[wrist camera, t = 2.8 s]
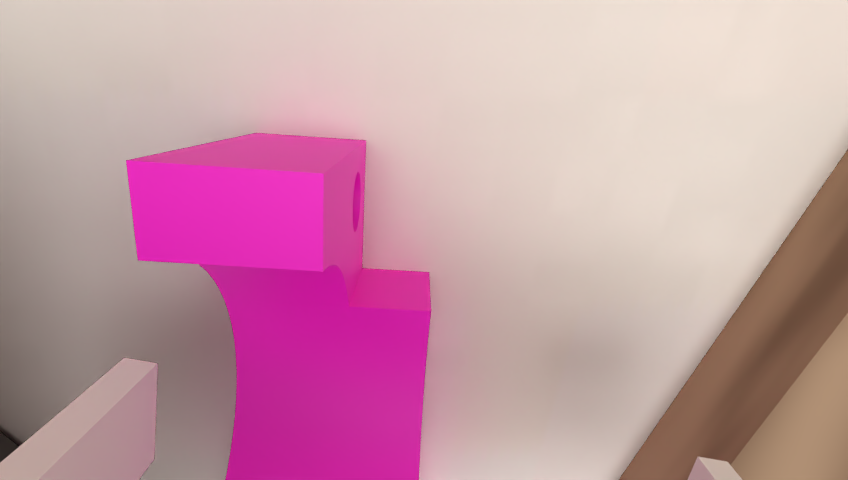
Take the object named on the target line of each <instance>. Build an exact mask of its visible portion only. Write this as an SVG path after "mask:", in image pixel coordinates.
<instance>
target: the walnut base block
mask: <svg viewBox="0 0 848 480" xmlns="http://www.w3.org/2000/svg"><path fill="white" fill-rule="evenodd" d="M697 457H704V458H709V459H715V460H721V461H727V462H728V463H729V464H730V465H731V466H732V468H733V469H734V470H735V471H736V473H737V474H738V475H739V476H740V477H741V479H742V480H848V150H847V151H846V153H845V154H844V156H843V157H842V159H841V160H840V162H839V163H838V164H837V166H836V167H835V169H834V170H833V172H832V173H831V175H830V176H829V177H828V179H827V180H826V182H825V183H824V185H823V186H822V188H821V189H820V190H819V192H818V193H817V195H816V196H815V198H814V199H813V200H812V202H811V203H810V205H809V206H808V208H807V209H806V211H805V212H804V213H803V215H802V216H801V218H800V219H799V221H798V222H797V224H796V225H795V226H794V228H793V229H792V231H791V232H790V234H789V235H788V237H787V238H786V239H785V241H784V242H783V244H782V245H781V247H780V248H779V250H778V251H777V252H776V254H775V255H774V257H773V258H772V260H771V261H770V262H769V264H768V265H767V267H766V268H765V270H764V271H763V273H762V274H761V275H760V277H759V278H758V280H757V281H756V283H755V284H754V286H753V287H752V288H751V290H750V291H749V293H748V294H747V296H746V297H745V299H744V300H743V301H742V303H741V304H740V306H739V307H738V309H737V310H736V312H735V313H734V314H733V316H732V317H731V319H730V320H729V322H728V323H727V325H726V326H725V327H724V329H723V330H722V332H721V333H720V335H719V336H718V337H717V339H716V340H715V342H714V343H713V345H712V346H711V348H710V349H709V350H708V352H707V353H706V355H705V356H704V358H703V359H702V361H701V362H700V363H699V365H698V366H697V368H696V369H695V371H694V372H693V374H692V375H691V376H690V378H689V379H688V381H687V382H686V384H685V385H684V387H683V388H682V389H681V391H680V392H679V394H678V395H677V397H676V398H675V399H674V401H673V402H672V404H671V405H670V407H669V408H668V410H667V411H666V412H665V414H664V415H663V417H662V418H661V420H660V421H659V423H658V424H657V425H656V427H655V428H654V430H653V431H652V433H651V434H650V436H649V437H648V438H647V440H646V441H645V443H644V444H643V446H642V447H641V449H640V450H639V451H638V453H637V454H636V456H635V457H634V459H633V460H632V462H631V463H630V464H629V466H628V467H627V469H626V470H625V472H624V473H623V474H622V476H621V477H620V479H619V480H688V477H689V475H690V473H691V471H692V468H693V466H694V464H695V462H696V459H697Z"/></svg>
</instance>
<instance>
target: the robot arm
mask: <svg viewBox="0 0 848 480" xmlns="http://www.w3.org/2000/svg"><path fill="white" fill-rule="evenodd" d="M157 373H158V363H153V362H147V361H141V360H136V359H130V358H123V359H122V360H121V361H120V362H119V363H117V364H116V365H115V366H114V367H113V368H112V369H110V370H109V371H108V372H107V373H106V374H104V375H103V376H102V377H101V378H100V379H99V380H97V381H96V382H95V383H94V384H93V385H91V386H90V387H89V388H88V389H87V390H86V391H84V392H83V393H82V394H81V395H80V396H78V397H77V398H76V399H75V400H74V401H73V402H71V403H70V404H69V405H68V406H67V407H65V408H64V409H63V410H62V411H61V412H60V413H58V414H57V415H56V416H55V417H54V418H52V419H51V420H50V421H49V422H48V423H47V424H45V425H44V426H43V427H42V428H41V429H39V430H38V431H37V432H36V433H35V434H34V435H32V436H31V437H30V438H29V439H28V440H26V441H25V442H24V443H23V444H22V445H21V446H18V445H16V444H15V443H14V442H12V441H11V440H10V439H9V438H7V437H6V436H5V435H3V434H2V433H0V480H139V479H140V478H141V476H142V475H143V474H144V472H145V471H146V470H147V468H148V467H149V466H150V464H151V463H152V462H153V461H154V459H155V431H156V402H157ZM688 480H742V479H741V477H740V476H739V475H738V474H737V473H736V471H735V470H734V469H733V468H732V466H731V465H730V464H729V463H728V462H727V461H721V460H715V459H709V458H704V457H697V459H696V462H695V464H694V466H693V468H692V471H691V473H690V475H689V477H688Z"/></svg>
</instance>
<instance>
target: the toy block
mask: <svg viewBox="0 0 848 480" xmlns="http://www.w3.org/2000/svg"><path fill="white" fill-rule="evenodd" d="M365 157H366V140H351V139H337V138H322V137H307V136H293V135H278V134H264V133H253V134H249V135H244V136H239V137H234V138H230V139H225V140H220V141H216V142H211V143H206V144H201V145H197V146H192V147H187V148H183V149H178V150H173V151H168V152H164V153H159V154H154V155H150V156H145V157H140V158H135V159H131V160H126V163H127V172H128V180H129V189H130V197H131V206H132V214H133V223H134V231H135V240H136V248H137V257H138V260H141V261H157V262H173V263H190V264H199V265H200V266H201V267H202V268H203V269H205V270H206V271H207V272H208V273H209V275H210V276H211V277H212V278H213V280H214V281H215V283H216V284H217V286H218V288H219V289H220V291H221V294H222V296H223V298H224V300H225V303H226V306H227V309H228V312H229V316H230V320H231V324H232V329H233V335H234V342H235V351H236V367H237V390H236V409H235V421H234V430H233V438H232V445H231V452H230V458H229V463H228V469H227V474H226V479H225V480H419V461H420V443H421V425H422V409H423V394H424V380H425V367H426V356H427V344H428V334H429V325H430V316H431V300H430V280H429V272H416V271H400V270H383V269H367V268H362V253H363V221H364V189H365Z"/></svg>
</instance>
